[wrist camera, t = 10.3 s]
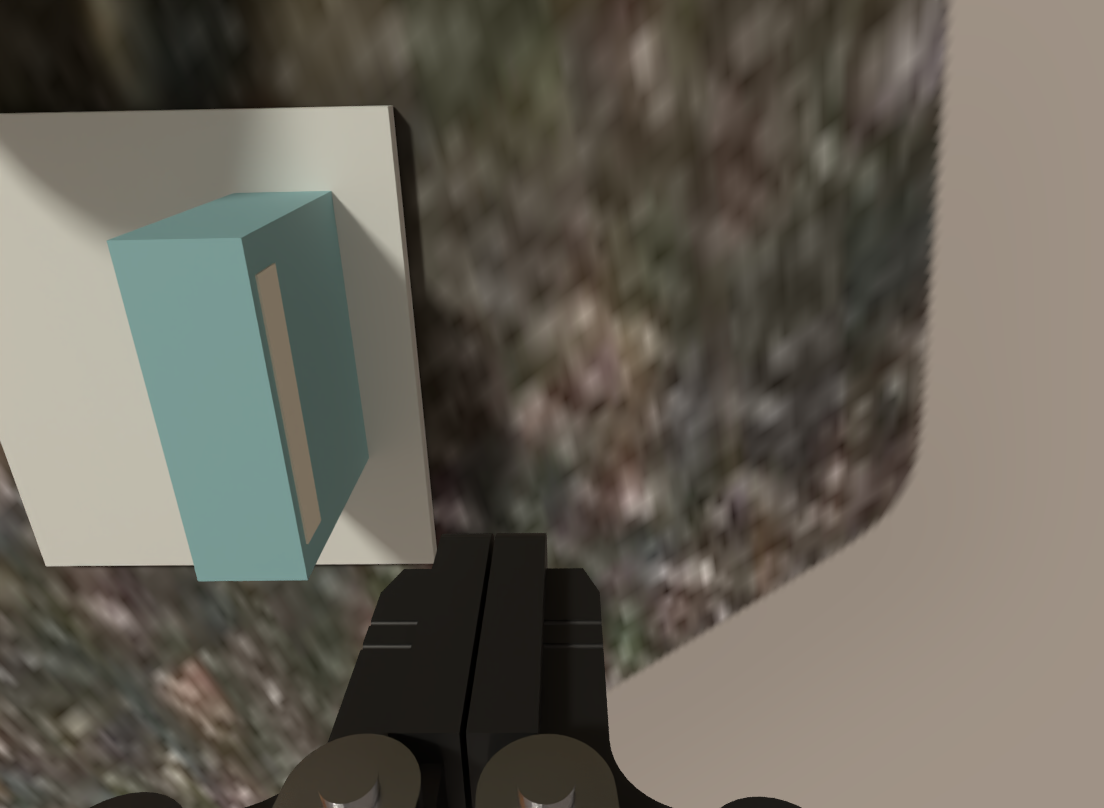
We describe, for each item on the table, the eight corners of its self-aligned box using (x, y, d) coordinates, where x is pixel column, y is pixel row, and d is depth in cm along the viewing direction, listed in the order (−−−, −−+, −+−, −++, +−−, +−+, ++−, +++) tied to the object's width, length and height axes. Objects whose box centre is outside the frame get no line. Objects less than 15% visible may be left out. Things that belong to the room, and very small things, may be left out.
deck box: (232, 192, 20) (104, 240, 14) (333, 190, 20) (244, 237, 14) (283, 459, 23) (195, 581, 17) (370, 457, 23) (309, 580, 17)
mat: (-99, 115, 20) (-118, 116, 19) (392, 105, 19) (387, 106, 19) (56, 555, 25) (45, 565, 25) (437, 552, 25) (434, 563, 24)
